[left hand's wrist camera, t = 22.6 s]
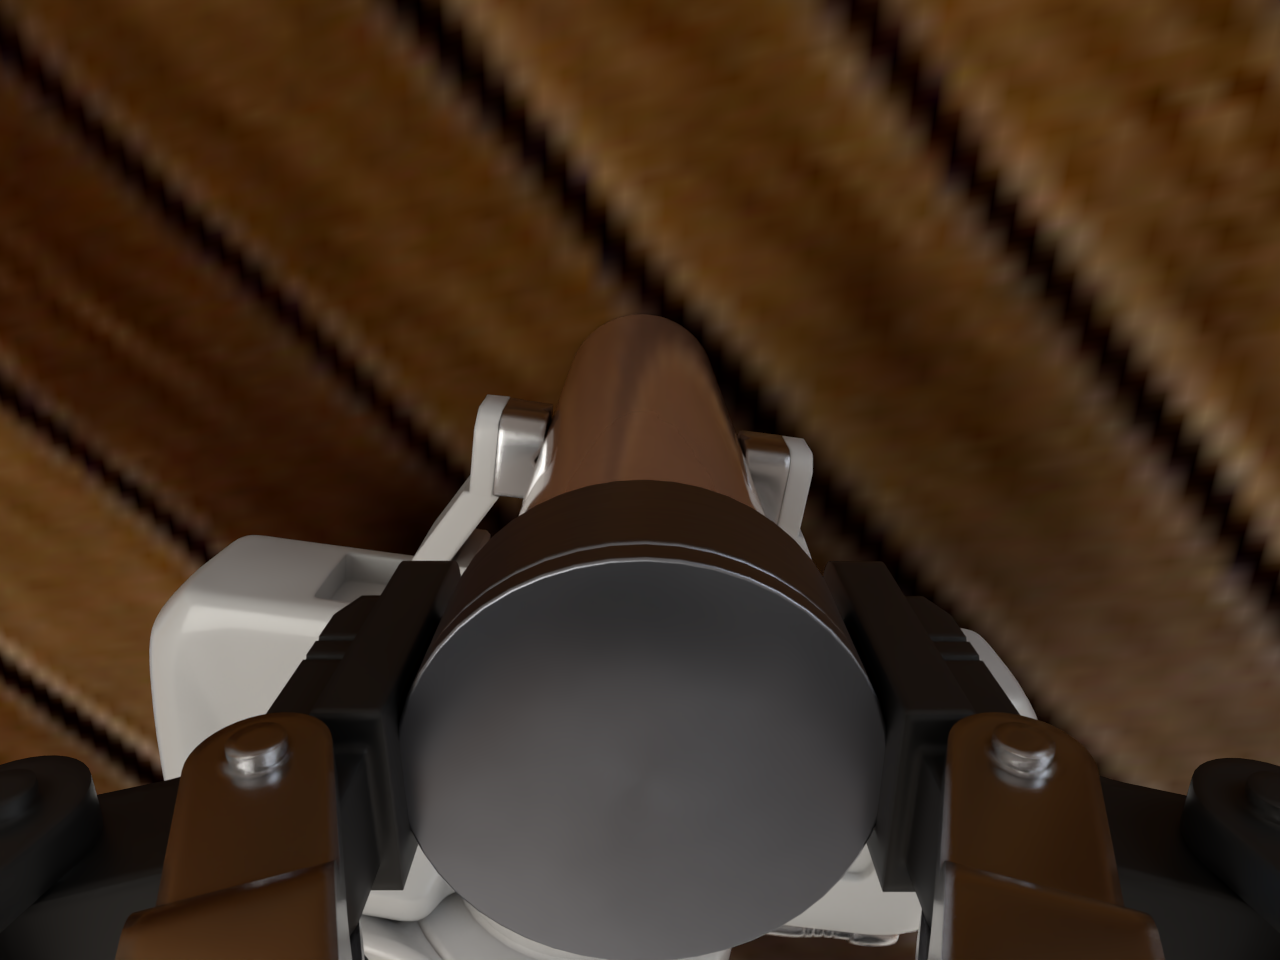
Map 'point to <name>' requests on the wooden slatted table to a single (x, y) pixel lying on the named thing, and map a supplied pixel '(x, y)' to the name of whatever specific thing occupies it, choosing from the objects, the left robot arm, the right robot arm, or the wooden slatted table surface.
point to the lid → (642, 727)
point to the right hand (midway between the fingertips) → (645, 422)
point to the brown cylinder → (641, 417)
